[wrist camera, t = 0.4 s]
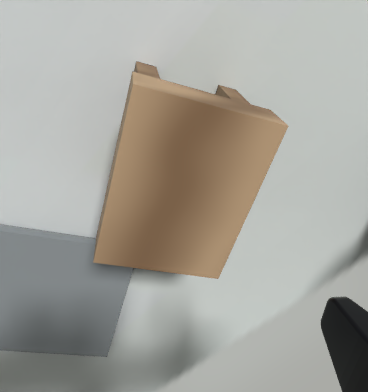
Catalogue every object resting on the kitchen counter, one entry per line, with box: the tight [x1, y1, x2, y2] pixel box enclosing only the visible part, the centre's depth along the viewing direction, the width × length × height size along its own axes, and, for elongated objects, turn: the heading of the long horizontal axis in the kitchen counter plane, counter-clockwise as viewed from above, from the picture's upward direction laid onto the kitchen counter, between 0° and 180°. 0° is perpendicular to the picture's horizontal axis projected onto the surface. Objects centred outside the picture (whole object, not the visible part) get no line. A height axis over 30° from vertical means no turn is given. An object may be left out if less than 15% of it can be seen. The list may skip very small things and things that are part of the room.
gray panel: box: [0, 224, 133, 357], centre depth 24 cm, size 11×11×1 cm
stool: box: [93, 61, 288, 279], centre depth 17 cm, size 6×8×6 cm
